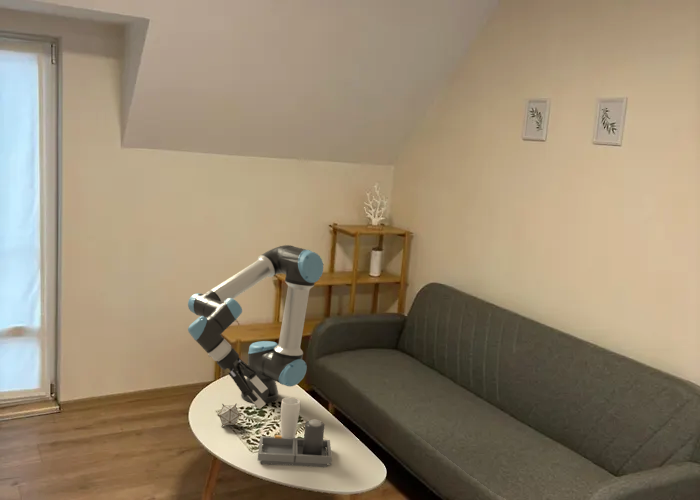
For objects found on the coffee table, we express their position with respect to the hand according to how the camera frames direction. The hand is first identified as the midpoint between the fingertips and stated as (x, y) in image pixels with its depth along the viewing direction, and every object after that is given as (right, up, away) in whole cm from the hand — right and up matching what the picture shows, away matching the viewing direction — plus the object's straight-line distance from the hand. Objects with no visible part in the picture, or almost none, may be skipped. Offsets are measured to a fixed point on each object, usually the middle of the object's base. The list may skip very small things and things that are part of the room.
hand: (263, 398), depth 230 cm
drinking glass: (+8, -16, +4) cm, 18 cm away
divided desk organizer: (+11, -18, -7) cm, 23 cm away
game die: (-15, -13, +11) cm, 22 cm away
